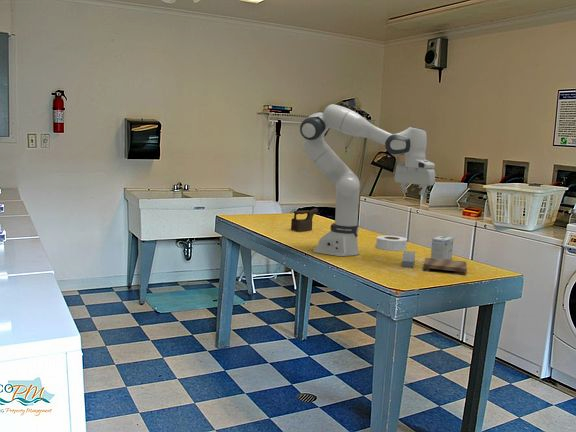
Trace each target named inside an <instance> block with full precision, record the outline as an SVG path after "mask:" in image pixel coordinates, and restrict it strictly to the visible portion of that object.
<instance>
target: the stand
mask: <svg viewBox="0 0 576 432" xmlns="http://www.w3.org/2000/svg"><path fill="white" fill-rule="evenodd" d="M423 269H424V272H429V271H430V270H431V269H432V270H433V269H434V270H443V271H452V272H459V275H462V276H465V275H466V273H467V272H468V271H467V270H468V267H467V261H465V260H464V261H463V260H452V259H450V260H444V259H434V258H431V257H424V261H423Z"/></svg>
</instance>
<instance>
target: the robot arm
mask: <svg viewBox="0 0 576 432" xmlns="http://www.w3.org/2000/svg"><path fill="white" fill-rule="evenodd" d="M330 129H334V130H336V131H338V132H340V133H343V134H345V135H347V136H351V137H356V138H357V137H359V138H366V139H370V140H373V142H374V141H375V142H376V143H378V144H381V145H383V146H384V147H385V150H386V152H388V154H390V155H391V156H403V155H405V159H404V161H405V162H398V163H397V164H396V168H395V169H396V170H395V173H394V179H393V180H394V181H395V183H400V186H401V190H402V194H407V193H408V188H407V187H406V185H407V184H411V185H412V184H413V185H419V186H421V190H419V193H418V194H419V195H420V196H424V195H425V191H426V190H427V188H428V186H429V187H430V186H434V185H435V183H436V171H435V168H436V164H435V163H434V162H432V161H430V160H428V159H426V150H427V146H428V145H427V142H428V141H427V139H428V137H427V131H426V130H425V129H423V128H420V127H417V126H409V127H408V128H406V129H404V130H403V131H400V132H396V133H391V132H388V131H386V130H384V129H382V128H380V127H377V125H376V126H375V124H373V123H371V122H369V121H368V120H367V119H366V118H365V117H363V116H362V115H360V114H359V113H358V112H356V111H355V110H352V109H350V108H347V107H346V106H342V105H339V104H334V103H331V104H329V105H327V106H326V107H325V109H324V110H323V111H317V112H314V113H312V114H310V115H308V117H306V118H304V119H303V120H302V122H301V123H300V126H299V132H300V135H301V136H302V137H303V138H304V141H303V142H302V149H303V151H304V152H305V154H306V156H307V157H308V159H309V160H310V161H311V162H312V163H313V164H314V165H315V166H316V168H317V169H318V170H319V171H320V172H321V173H322V175H324V177H325V178H327V180H329V181H330V182H331V183H332V184H333V185H334V186H335V212H334V213H335V214H334V215H335V217H334V218H335V219H334V222H333V223H331V224H330V231H329V232H327V233H326V234H324V235H323V236H322V237H320V238H319V239H318V245H317V246H315V247H313V252H314V253H317V254H322V255H323V254H324V255H331V256H335V257H336V256H337V257H348V256H356V255H360V252H359V247H358V236H359V225H358V223H359V221H358V219H359V203H360V201H359V200H360V188H361V187H360V184H361V182H360V179H359V177H358V176H357V175H356V173H354V171H353V170H351V169H350V167H348V165H346V163H345V162H344V161H343V160H342V159H341V158H340V157H339V156H338V154H336V152H334V150H333V149H332V148H331V147H330V146H329V145H328V143H327V142H326V141H325V138H324V137H326V136H327V135H328V133H329V131H330Z"/></svg>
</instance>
